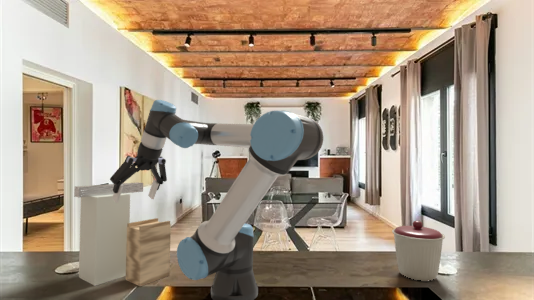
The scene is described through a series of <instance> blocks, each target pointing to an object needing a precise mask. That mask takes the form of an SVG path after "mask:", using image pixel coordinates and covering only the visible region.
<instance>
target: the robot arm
mask: <svg viewBox="0 0 534 300" xmlns="http://www.w3.org/2000/svg"><path fill="white" fill-rule="evenodd" d="M176 112H177V106H176V105H174V104H173V103H171V102H168V101H166V100H163V99H156V100H155V99H154V101H153V103H152V105H151V108H150V109H149V113H148V117H147V119H146V123H145V127H144V130H143V133H142V136H141V139H140V143H139V144H138V149H137V151H136V156H135V157H132V156H131V155H127V156H126V157H125V160H124V161H123V163H122V164H121V165H120V166H119V168H118V169H116V171H115V172H114V173H113V174H112V176H111V177H110V178H109V180H110V182H112V183H111V184H114V187H113V192H114V194H113V197H112V199H113V200H114V201H115V202H116V203H118V201H119V198H120V195H121V192H122V188H123V185H122V184H123V183H126V181H128V180H129V179H130V178H131V177H132V176H133V175H135V174H136V173H139V172H140V171H151V173H152V174H153V177H154V178H155V179H154V180H152V184H151V185H150V186H151V187H150V190H149V193H148V197H149V198H150V199H151V200H154V199H155V197H156V195H157V191H159V190H160V187H161V185H163V184H164V182H167V180H168V179H167V170H166V163H167V160H166V158H165V157H163V156H162V152H163V148H164V147H165V144H166V140H167V139H168V140H169V141H171V142H172V143H173V144H174V145H176V146H178V147H179V148H182V149H188V148H190V147H193V146H194V145H206V146H224V147H232V148H233V147H234V148H247V149H248V154H249V159H248V160H247V161H246V163H245V165H244V167H242V169H241V171H240V172H239V173H238V175H237V176H236V178H235V180H234V181H233V183H232V185H231V186H230V188H229V189H228V190H227V192H226V194H225V195H224V197H223V199H222V200H221V202H220V203H219V205H218V206H217V208H216V209H215V211H214V213H213V214H212V215H211V217H210V219H209V220H205V221H202V222H201V223H200V224H199V225H198V227H197V228H196V230H195V232H194V233H193V235H191V236H186V237H185V238H184V239H181V240H180V242H178V244H177V249H176V259H177V263H178V266H179V269H180V270H181V272H182V273H183V274H184V276H186V277H187V278H188V279H189V280H192V281H199V280H201V279H205V278H207V277H209V276H211V275H213V274H215V275H214V279H213V281H212V284H211V287H210V297H211V299H212V300H255V299H256V298H257V297H258V296H259V295H258V294H259V287H258V284H257V281H256V278H255V273H254V270H253V269H254V266H253V265H254V238H255V236H254V228H253V226H252V225H251V224H249V223H246V222H247V221H248V220H249V218H250V217H251V215H252V214H253V213H254V211H255V209H257V207H258V205H259V204H260V203H261V201H262V199H264V197H265V195H266V194H267V192H269V190H270V189H271V187H272V186H273V184H274V183H275V181H276V180H277V178H278V177H283V176H287V175H288V174H289V173H290V171H291V170H292V168H293V167H294V165H295V164H296V163H297V162H298V161H303V160H308V159H311V158H313V157H315V156H316V155H317V154H318V153H319V152H320V150H321V149H322V146H323V145H324V144H323V143H324V133H323V129H322V128H321V126H320V125H319V123H318V122H316V120H314V119H313V118H311V117H308V116H306V115H305V116H304V115H300V114H297V113H293V112H292V111H288V110H270V111H267V112H265V113H263V114H262V115H260V116H259V117H258V118H257V119H256V121H255V122H254V123H215V122H214V123H213V122H202V121H200V122H199V121H195V120H187V119H183V118H181V117H179V116H177V114H176ZM156 165H158V169H159V170H158V169H157V167H156ZM158 171H159V172H158Z"/></svg>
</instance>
